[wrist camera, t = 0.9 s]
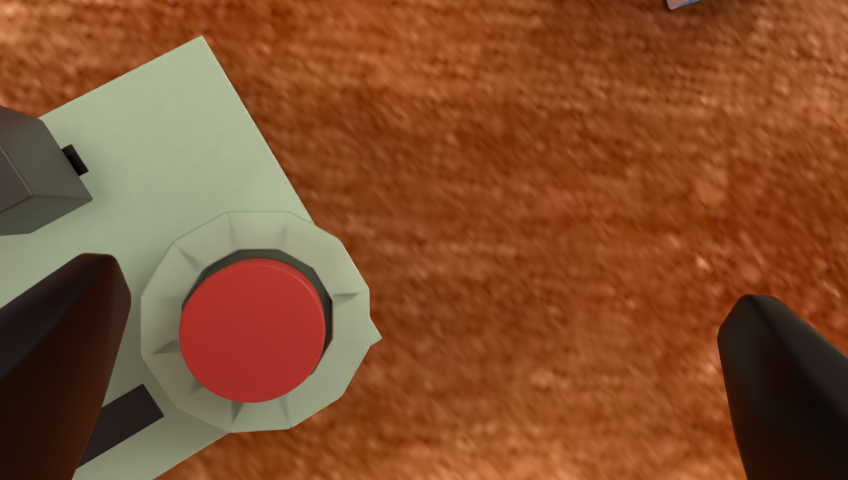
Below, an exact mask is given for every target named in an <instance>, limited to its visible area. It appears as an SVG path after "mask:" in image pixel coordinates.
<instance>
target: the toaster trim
mask: <svg viewBox="0 0 848 480" xmlns="http://www.w3.org/2000/svg"><path fill="white" fill-rule="evenodd" d="M61 150H62V151H63V153H64V154H65V156H66V157H67V159H68V160H69V162H70V164H71V165H72V167H73V168H74V170H75V171H76V173H77V174H78V176H79V177H80V176H82V175H83V174H85V173H87V172H89V170H88V168H87V167H86V165H85V164H84V162H83V160H82V159H81V157H80V156H79V154H78V153H77V151H76V150H75V148H74V146H73V145H72V144H70V145H68V146H66V147H64V148H62V149H61ZM163 417H164V414H163V413H162V411H161V410H160V408H159V407H158V405H157V404H156V402H155V401H154V399H153V398H152V396H151V395H150V393H149V392H148V390H147V389H146V387H145V386H144V384H143V383H142V384H140V385H139V386H137V387H135V388H134V389H132V390H130V391H129V392H127V393H125V394H123V395H122V396H120V397H118V398H117V399H115V400H113V401H112V402H110V403H108V404H106V405H105V406H103V407H102V408H101V410H100V413H99V415H98V418H97V421H96V423H95V425H94V428H93V430H92V433H91V435H90V437H89V440H88V442H87V445H86V447H85V450H84V452H83V454H82V457H81V459H80V462H79V464H78V466H77V469H78V468H79V467H81V466H83V465H84V464H86V463H88V462H89V461H91V460H93V459H94V458H96V457H98V456H99V455H101V454H103V453H104V452H106V451H108V450H109V449H111V448H113V447H114V446H116V445H118V444H119V443H121V442H123V441H124V440H126V439H128V438H129V437H131V436H133V435H134V434H136V433H138V432H139V431H141V430H143V429H144V428H146V427H148V426H149V425H151V424H153V423H154V422H156V421H158V420H159V419H161V418H163Z"/></svg>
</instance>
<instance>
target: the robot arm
mask: <svg viewBox="0 0 848 480" xmlns="http://www.w3.org/2000/svg"><path fill="white" fill-rule="evenodd" d="M130 308H131V292H130V289H129V287H128V284H127V282H126V280H125V277H124V275H123V272H122V270H121V267H120V265H119V263H118V261H117V259H116V258H115V257H114V256H113V255H110V254H102V253H82V254H80V255H78V256H76V257H74V258H73V259H71V260H70V261H69V262H67V263H66V264H64V265H63V266H61V267H60V268H58V269H57V270H55V271H54V272H52V273H51V274H50V275H48V276H47V277H45V278H44V279H42V280H41V281H39V282H38V283H36V284H35V285H33V286H32V287H31V288H29V289H28V290H26V291H25V292H23V293H22V294H20V295H19V296H17V297H16V298H14V299H13V300H12V301H10V302H9V303H7V304H6V305H4V306H3V307H1V308H0V480H72V479H73V476H74V474H75V471H76V469H77V466H78V464H79V462H80V459H81V457H82V454H83V452H84V450H85V447H86V445H87V442H88V440H89V437H90V435H91V433H92V430H93V428H94V425H95V423H96V421H97V418H98V415H99V413H100V410H101V408H102V405H103V402H104V399H105V396H106V393H107V390H108V386H109V383H110V379H111V376H112V372H113V369H114V365H115V362H116V358H117V354H118V351H119V347H120V344H121V340H122V337H123V333H124V330H125V326H126V323H127V319H128V316H129V312H130ZM717 342H718V349H719V355H720V360H721V365H722V371H723V376H724V382H725V387H726V393H727V398H728V404H729V409H730V414H731V420H732V425H733V430H734V434H735V439H736V442H737V446H738V450H739V453H740V457H741V460H742V463H743V467H744V470H745V473H746V476H747V480H848V357H847V356H846V355H845V354H844V353H843V352H841V351H840V350H839V349H838V348H837V347H835V346H834V345H833V344H832V343H830V342H829V341H828V340H827V339H826V338H824V337H823V336H822V335H821V334H820V333H818V332H817V331H816V330H815V329H814V328H812V327H811V326H810V325H809V324H808V323H806V322H805V321H804V320H803V319H802V318H800V317H799V316H798V315H797V314H795V313H794V312H793V311H792V310H791V309H789V308H788V307H787V306H786V305H785V304H783V303H782V302H781V301H780V300H778V299H777V298H775V297H773V296H769V295H755V294H746V295H743V296H742V297H740V298H739V299H738V301H737V302H736V304H735V305H734V307H733V308H732V310H731V311H730V313H729V314H728V316H727V317H726V319H725V320H724V322H723V324H722V325H721V327H720V329H719V332H718V337H717Z"/></svg>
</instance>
